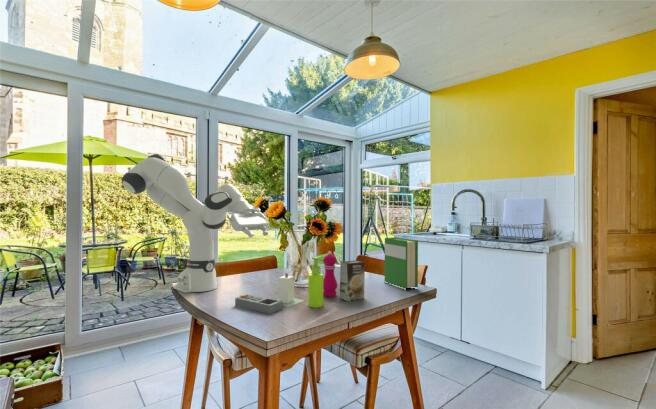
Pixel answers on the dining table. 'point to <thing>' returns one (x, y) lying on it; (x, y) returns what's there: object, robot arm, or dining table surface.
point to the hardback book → (401, 262)
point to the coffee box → (352, 280)
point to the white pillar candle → (286, 288)
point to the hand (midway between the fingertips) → (259, 235)
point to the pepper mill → (329, 276)
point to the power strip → (258, 303)
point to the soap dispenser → (315, 285)
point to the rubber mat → (292, 302)
